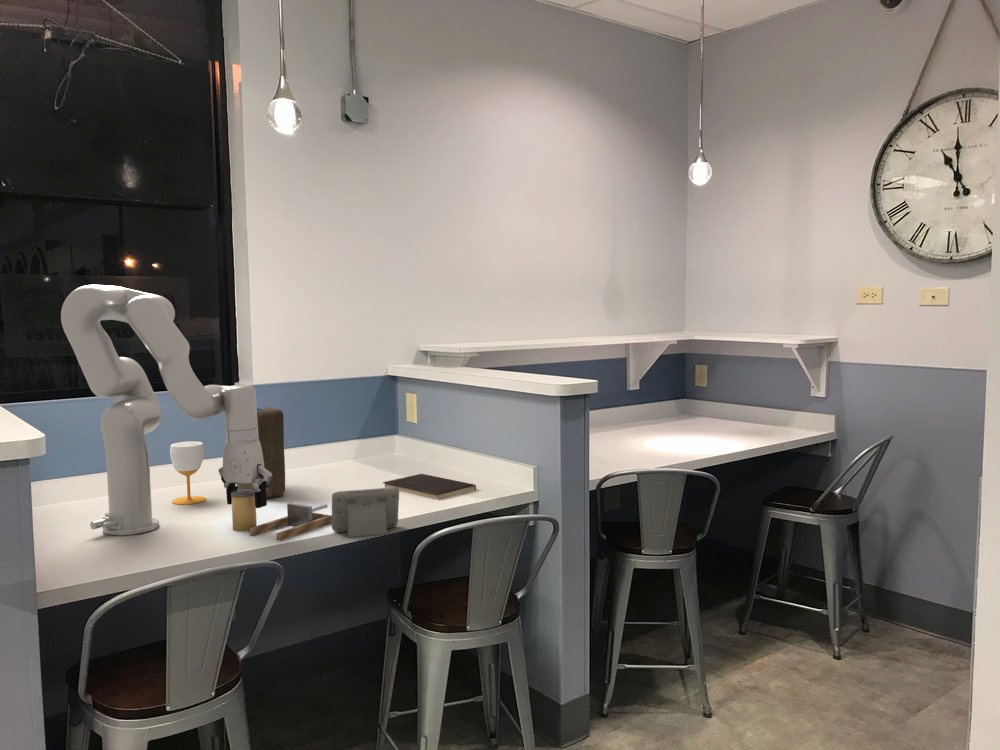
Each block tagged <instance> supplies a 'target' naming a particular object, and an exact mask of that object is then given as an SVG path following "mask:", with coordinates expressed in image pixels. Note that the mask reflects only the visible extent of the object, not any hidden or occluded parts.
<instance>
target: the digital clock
mask: <svg viewBox="0 0 1000 750" xmlns="http://www.w3.org/2000/svg"><path fill="white" fill-rule="evenodd" d="M399 501H400V491H399V489H398V488H385V487H379V488H368V489H367V488H366V489H365V488H364V489H353V490H340V491H335V492H333V493H332V494H331V516H332V523H331V529H332V530H333V531H334V532H336V533H337V532H338V533H342V532H344V533H345V532H347V535H348V537H349V538H357V537H367V536H381V535H387V532H388V530H387V529H389V528H395V527H396V526H398V523H399V504H400V503H399Z"/></svg>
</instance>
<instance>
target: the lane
mask: <svg viewBox="0 0 1000 750" xmlns="http://www.w3.org/2000/svg"><path fill="white" fill-rule="evenodd" d="M330 524H332V514H324V513H319V512H312V521H311V522H308V523H305V524H302V525H299V526H297V525H295V526H293V527H291V528H288V529H285V530H284V529H283V530H281V531H278V532H276V533H275V534H276V541H277V540H282V539H285V540H287V539H286V538H288V539H290V538H293V537H295V535H296V536H299V535H301V533H302V534H304V532H305V533H307V532H309V531H313V530H315V529H318V528H322V527H325V526H327V525H330ZM288 525H289V524H288V515H287V516H283V517H280V518H277V519H274V520H272V521H268V522H265V523H261V524H259V525H257V526H255V527H252V528H250V530H249V536H252V537H255V536H257V535H260V534H261V535H262V534H263V533H267V532H270V531H273V530H276V529H278V528H281V527H285V526H288ZM298 534H299V535H298ZM292 536H293V537H292ZM289 537H290V538H289ZM282 541H283V540H282Z"/></svg>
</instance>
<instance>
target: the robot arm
mask: <svg viewBox="0 0 1000 750" xmlns="http://www.w3.org/2000/svg"><path fill="white" fill-rule="evenodd" d="M175 317H176V311H175V308H174V305H173V304H172V302H171V301H170V300H168V299H167V298H166V297H164V296H162V295H158V294H154V293H149V292H143V291H140V290H135V289H133V288H132V289H131V288H126V287H123V286H119V285H118V286H117V285H105V284H88V285H83V286H80V287H79V286H78V287H77V288H76V289H74V290H72V291H71V292H70V293H69V294H68V295H67V297H66V298H65V300H64V302H63V304H62V307H61V311H60V321H61V325H62V328H63V332H64V334H65V335H66V336H65V337H66V338H67V340H68V342H69V343H70V345H71V349H72V350H73V353H74V354H75V357H76V360H77V362H78V365H79V366H80V368H81V371H82V373H83V376H84V377H85V379H86V382H87V384H88V387H89V388H90V391H91V392H92V393H93V394H94V395H95V396H97V397H98V398H101V399H115V401H116V402H115V403H112V404H110V405H109V406H108V407H107V408H106V409H105V411H104V412H103V414H102V415H101V418H100V431H101V436H102V439H103V443H104V451H105V463H106V475H107V476H106V477H107V479H106V480H107V495H108V496H107V498H108V512H106V513H104V517H103V518H102V519H96V520H93V521H91V522H90V524H89V526H90V528H91V530H93V531H94V530H97V529H101V528H102V532H103V533H104V534H106V535H109V536H110V535H112V536H129V535H137V534H143V533H148V532H151V531H153V530H155V529H157V528H158V527H159V526H160V520H158V519H157V518H155V517H153V509H152V488H151V487H152V486H151V469H150V468H151V466H150V454H149V453H150V452H149V447H148V444H147V440H146V436H145V435H146V434H148V433H151V432H153V431H154V430H156V429H157V428H158V427H159V425H160V423H161V420H162V409H161V406H160V403H159V401H158V399H157V397H156V395H155V392H154V390H153V388H152V385H151V383H150V381H149V378H148V376H147V374H146V372H145V370H144V369H143V367H142V366H141V365H140V364H139V362H138V361H136V360H135V359H132V358H130V357H125V356H119V355H118V352H117V351H116V350H117V349H116V348H115V347H114V344H113V341H112V339H111V338H110V336H109V334H108V333H107V331H105V329H104V328H103V326H102V324H101V321H109V320H111V321H112V320H113V321H118V322H123V323H127V324H128V325H129V326H130V327H131V329H133V331H134V333H135V334H136V336H137V337H138V338H139V339H140V341H141V342H142V343H143V344H144V346H145V347H146V349H147V351H149V354H151V356H152V357H153V359H154V360H155V361H156V363H157V366H158V370H159V373H160V376H161V379H162V382H163V384H164V385H165V388H166V390H167V391H168V393H169V395H170V396H171V398H172V399H173V400H174V401H175V402H176V404H177V405H178V407H179V408H180V410H181V411H182V412H184V414H185V415H186V416H187V417H189V418H191V419H193V420H196V421H203V420H206V419H209V418H212V417H214V416H218V415H222V414H224V425H225V426H224V427H225V433H224V434H225V439H226V440H225V441H224V445H223V451H222V466H220V468H218V469H217V471H218V473H219V476H220V480H221V482H222V483H223V487H224V489H225V490H226V491H225V493H226V504H227V505H232V496H231V492H233V491H236V490H238V486H237V483H238V484H251V483H252V485H253V486H254V488H255V490H256V491H257V492H255V493H254V495H255V507H256V509H260V508H264V507H266V506H268V501H267V500H268V499H267V498H266V490H267V489H268V486H269V485H270V481H271V478H272V473H271V472H269V471H268V470H267V469H265V468H264V460H263V453H262V448H261V444H260V441H259V437H258V423H257V396H256V395H257V393H256V389H255V387H254V386H253V385H251V384H235V385H222V384H221V385H220V384H208V385H203V384H202V382H201V381H200V380H199V378H198V377H197V375H196V374H195V372H194V371H193V368H192V366H191V364H190V358H189V357H190V356H189V355H190V349H191V348H190V343H189V342H188V340H187V338H186V337H185V336H184V335H183V333H182V332H181V330H180V329H179V328H178V327H177V325H176V324H175V322H174V320H175ZM258 483H260V485H259V484H258Z"/></svg>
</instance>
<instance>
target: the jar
mask: <svg viewBox="0 0 1000 750" xmlns="http://www.w3.org/2000/svg"><path fill="white" fill-rule="evenodd" d="M255 492H256V491H255V490H251V489H243V490H236V491H233V492H231V496H232V504H231V513H232V514H231V515H232V516H231V517H232V531H235V532H248V531H249V532H250V528H252V527H255V526H258V525H257V508H256V507H255V495H254V493H255Z"/></svg>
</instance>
